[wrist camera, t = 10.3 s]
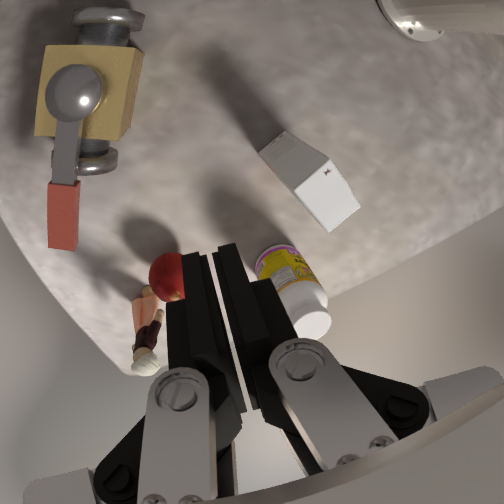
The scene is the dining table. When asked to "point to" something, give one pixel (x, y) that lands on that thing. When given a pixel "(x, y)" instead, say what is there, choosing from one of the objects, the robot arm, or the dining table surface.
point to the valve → (114, 73)
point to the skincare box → (311, 179)
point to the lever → (69, 146)
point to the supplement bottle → (296, 289)
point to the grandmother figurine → (146, 332)
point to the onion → (167, 277)
